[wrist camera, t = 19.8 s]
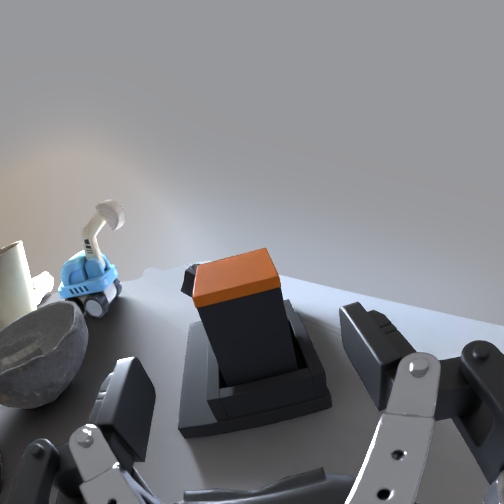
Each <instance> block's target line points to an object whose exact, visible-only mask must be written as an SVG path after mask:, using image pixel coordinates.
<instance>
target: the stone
mask: <svg viewBox="0 0 504 504" xmlns="http://www.w3.org/2000/svg"><path fill="white" fill-rule="evenodd" d="M53 281H54V279H53V277H52V276H50V275H49V274H48V273H47V272H44V273H42V274H41V275H39V276H37V277H34V278H32V279H31V282H32V287H33V291H34V296H35V301H36V305H39V303H40V301H41V299H42V297H43V296H44V295H45V294H46V293H47V292H50V291H51V289H52V287H53Z"/></svg>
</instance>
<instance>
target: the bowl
mask: <svg viewBox="0 0 504 504" xmlns="http://www.w3.org/2000/svg"><path fill="white" fill-rule="evenodd" d="M87 341H88V329H87V325H86V322H85V319H84V316H83V314H82V312H81V310H80V308H79V307H78V306H77V305H76V303H75V302H72V301H58V302H54V303H51V304H48V305H45V306H43V307H41V308H39V309H36V310H34V311H32V312H29V313H27V314H25V315H23V316H21V317H20V318H18V319H16V320H14V321H13V322H11V323H10V324H8V325H6V326H5V327H3V328H2V329H0V404H1V405H3V406H6V407H16V408H23V409H31V408H37V407H39V406H42V405H44V404H47V403H51V402H53V401H55V400H56V399H57V398H58V396H59V395H60V394H61V393H62V392H63V391H64V390H65V389H66V388H67V387H68V385H69V384H70V383H71V381H72V380H73V379H74V378H75V376H76V374H77V372H78V370H79V368H80V366H81V364H82V361H83V359H84V356H85V352H86V348H87Z"/></svg>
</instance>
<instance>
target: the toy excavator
mask: <svg viewBox="0 0 504 504" xmlns="http://www.w3.org/2000/svg"><path fill="white" fill-rule="evenodd" d="M96 209H97V210H98V211H97V212H96V213H95V214H94V215H93V216H92V217H91V219H90V220H89V221H88V222H87V223H86V224H85V226H84V227H83V229H82V232H81V237H82V243H83V247H84V250H83V251H81V252H79V253H78V254H76V255H75V256H74V257H72V258H71V259H69V260H68V261H67V262H65V264H64V265H63V267H62V270H61V280H62V283H61V285H60V288H59V289H58V292H59V294H60V297H61V298H64V299H65V301H72V302H75V303H76V305H77V306H78V307H79V308H80V310H81V312H82V314H84V312H85V311H86V313H87V314H88V315H90V316H91V317H93V318H94V316H96V317H98V318H97V319H100V318H102V317H103V316H104V314H105V313H106V312H107V310H108V308H109V304H110V302H111V301H112V300H113V299H116V298H117V297H118V295H119V294H120V292H121V289H122V287H121V285H120V284H119V283H120V281H119V280H118V279H117V276H118V272H117V269H116V266H115V265H111V266H110V263H109V261H108V258H107V256H106V255H104V254H102V253H101V252H100V249H99V247H98V244H97V241H96V236H97V234H98V233H99V231H100V230H101V228H102V227H103V225H104V224H105V223H106V221H107V223H108V224H109V225H110V226H111V227H112V230H113V231H115V230H117V229H118V228H120V227H121V226H122V225H123V224H124V222H125V212H124V210H123V208H122V206H121V205H120V204H119V203H118V202H116V201H114V200H106V201H103V202H101V203H99V204H97V205H96Z"/></svg>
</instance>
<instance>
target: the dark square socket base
mask: <svg viewBox="0 0 504 504" xmlns="http://www.w3.org/2000/svg"><path fill="white" fill-rule="evenodd" d="M284 305H285V310H286V315H287V319H288V324H289V329H290V334H291V338H292V343H293V348H294V353H295V358H296V363H297V368H298V370H297V371H294V372H290V373H286V374H283V375H279V376H275V377H271V378H267V379H263V380H259V381H254V382H250V383H246V384H241V385H237V386H232V387H227V385H226V382H225V380H224V377H223V375H222V373H221V370H220V368H219V365H218V363H217V360H216V358H215V355H214V352H213V350H212V347H211V345H210V342H209V339H208V337H207V334H206V332H205V329H204V326H203V324H202V321H199V322H195V323H191V324H190V326H189V334H188V341H187V349H186V357H185V365H184V374H183V383H182V392H181V401H180V411H179V421H178V430H179V431H180V433H181V434H182V436H183V437H184V438H185V439H187V438H195V437H203V436H209V435H216V434H222V433H228V432H233V431H239V430H244V429H249V428H254V427H259V426H263V425H267V424H272V423H276V422H280V421H284V420H288V419H292V418H296V417H299V416H303V415H307V414H310V413H314V412H317V411H320V410H324V409H327V408H330V407H332V401H331V394H330V392H329V390H328V387H327V383H326V375H325V371H324V368H323V366H322V364H321V362H320V360H319V357H318V355H317V353H316V351H315V349H314V346H313V344H312V342H311V340H310V338H309V335H308V333H307V331H306V329H305V327H304V325H303V322H302V320H301V318H300V316H299V314H298V313H295V312H294V310H293V308H292V305H291V303H290V301H289V299H288V300H284Z"/></svg>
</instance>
